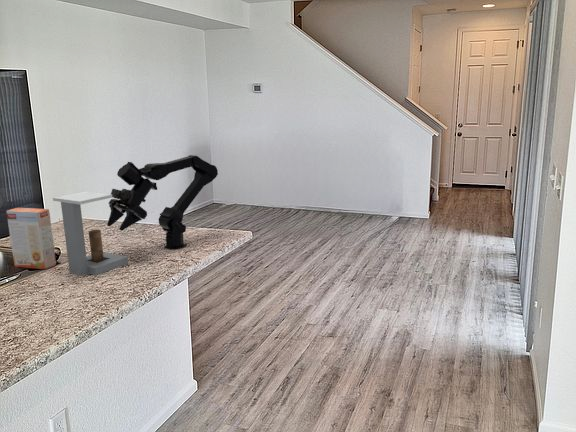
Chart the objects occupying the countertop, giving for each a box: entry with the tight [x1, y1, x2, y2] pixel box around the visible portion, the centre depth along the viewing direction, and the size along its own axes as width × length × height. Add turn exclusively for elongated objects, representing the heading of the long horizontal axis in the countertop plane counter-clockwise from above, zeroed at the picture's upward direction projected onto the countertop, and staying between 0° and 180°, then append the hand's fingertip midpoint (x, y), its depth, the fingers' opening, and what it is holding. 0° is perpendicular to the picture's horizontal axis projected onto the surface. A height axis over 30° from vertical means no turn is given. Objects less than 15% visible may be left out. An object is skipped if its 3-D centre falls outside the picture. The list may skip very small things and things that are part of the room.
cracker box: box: [6, 207, 57, 270], centre depth 186 cm, size 14×6×21 cm, turn 71°
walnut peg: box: [88, 229, 104, 263], centre depth 185 cm, size 4×4×13 cm
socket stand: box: [52, 191, 129, 277], centre depth 183 cm, size 17×14×26 cm
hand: (114, 227), depth 189 cm, fingers open, 9 cm apart
